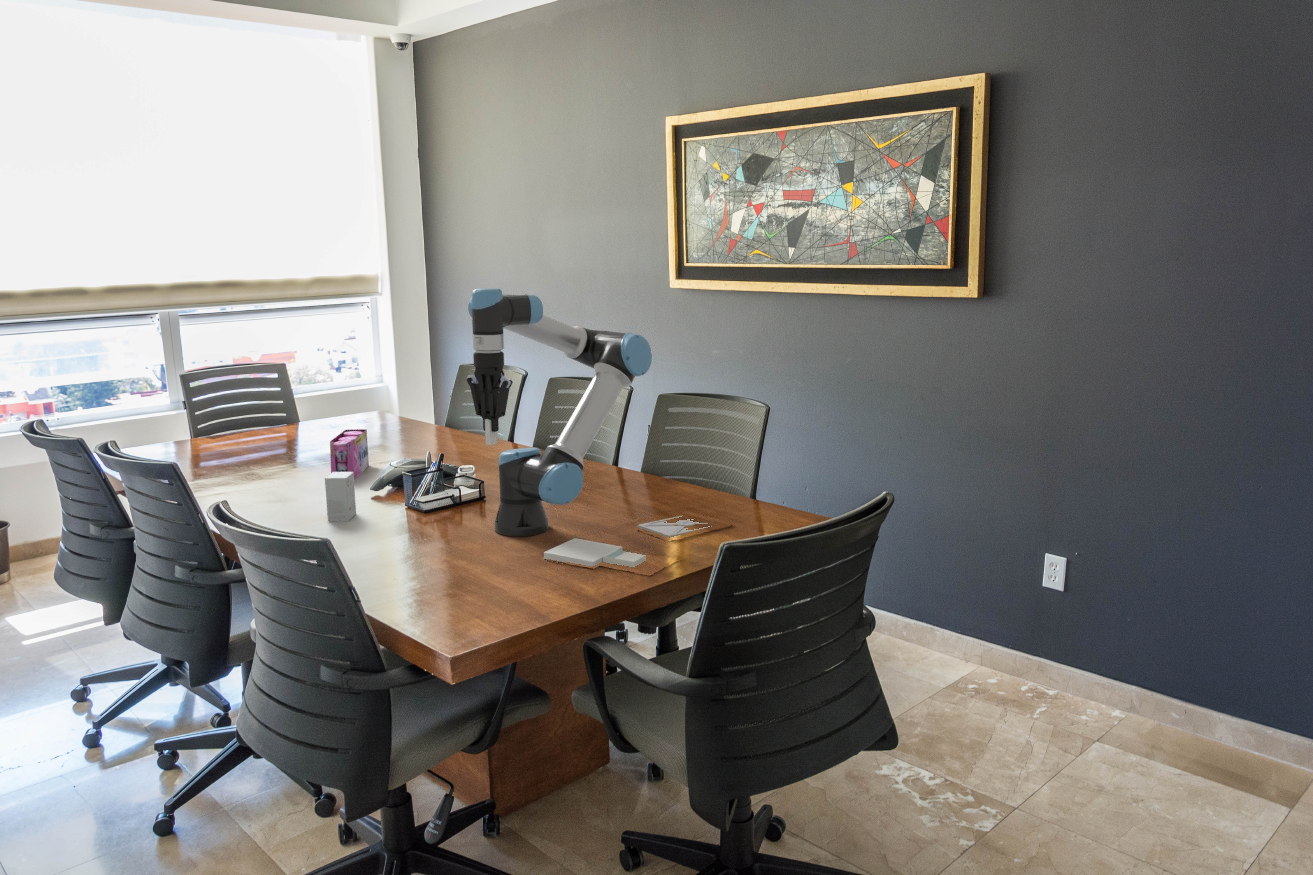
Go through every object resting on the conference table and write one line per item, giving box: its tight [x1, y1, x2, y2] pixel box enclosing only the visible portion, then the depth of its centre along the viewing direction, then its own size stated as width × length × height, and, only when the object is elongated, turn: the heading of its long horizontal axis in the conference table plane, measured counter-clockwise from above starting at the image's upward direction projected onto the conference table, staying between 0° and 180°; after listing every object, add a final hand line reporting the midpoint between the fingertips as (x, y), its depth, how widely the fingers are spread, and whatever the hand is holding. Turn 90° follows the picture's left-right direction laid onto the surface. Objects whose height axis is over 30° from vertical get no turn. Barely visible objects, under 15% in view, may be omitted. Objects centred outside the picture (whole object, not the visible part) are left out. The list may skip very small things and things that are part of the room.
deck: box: [543, 537, 624, 566], centre depth 249 cm, size 14×15×2 cm
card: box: [603, 550, 646, 567], centre depth 243 cm, size 6×9×2 cm, turn 60°
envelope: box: [636, 515, 712, 538], centre depth 275 cm, size 24×2×14 cm
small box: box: [324, 472, 357, 522], centre depth 283 cm, size 8×6×13 cm
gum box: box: [329, 428, 370, 480], centre depth 339 cm, size 24×8×14 cm, turn 4°
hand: (491, 443), depth 245 cm, fingers closed
